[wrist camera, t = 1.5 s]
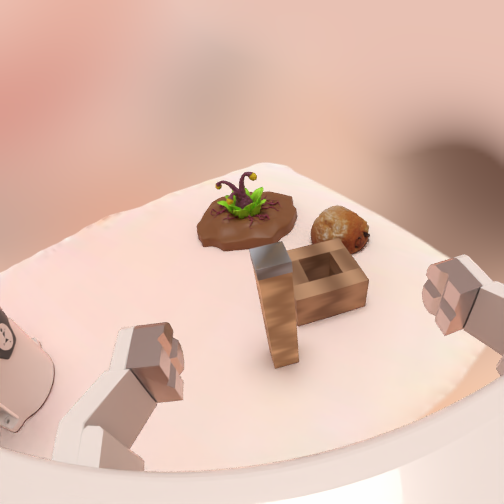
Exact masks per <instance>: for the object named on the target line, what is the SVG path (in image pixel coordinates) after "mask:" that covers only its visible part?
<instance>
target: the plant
mask: <svg viewBox="0 0 504 504" xmlns="http://www.w3.org/2000/svg"><path fill="white" fill-rule="evenodd" d="M245 176H248V177H249V179H250V180H253V181H254V180H256V178H257V175H256V174H255V173H253V172H245V173H244V174H243V175H242V177H241V178H240V181H239V189H238V188H236V187H235V185H233V184H232V183H230V182H227V181H224V180H223V181H220V182H218V183H216V189H220V188H221V187H222V185H221V183H223V184H226V185H228V186H229V187H230V188H231V189H232V193H231V195H230V196H229V195H226V196H225V197H221V198H219V199H217V200H215V201H214V202H212V203H211V205H210V206H209V208H208V209H207V210H206V212H205V213H204V215H203V217H202V219H201V221H200V222H199V223H198V225H197V233H198V237H199V240H200V241H201V242H202V244H203V247H209V246H214V247H218V248H220V249H221V250H223V251H233V250H243V249H252V248H256V247H260V246H264V245H268V244H273V243H277V242H278V241H279V240H280V239H281V238H282V237H284V236H285V235H287V234H288V233H289V232H290V231H291V230H292V229H293V227H294V223H295V221H296V218H297V212H296V208H295V207H294V206H293V200H292V197H291V196H287V195H283V194H278V193H274V192H263V187H261V188H258V189H256V190H255V191H254V192H249V191H248V190H247V189H246V188H244V187H245V186H244V177H245Z"/></svg>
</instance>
